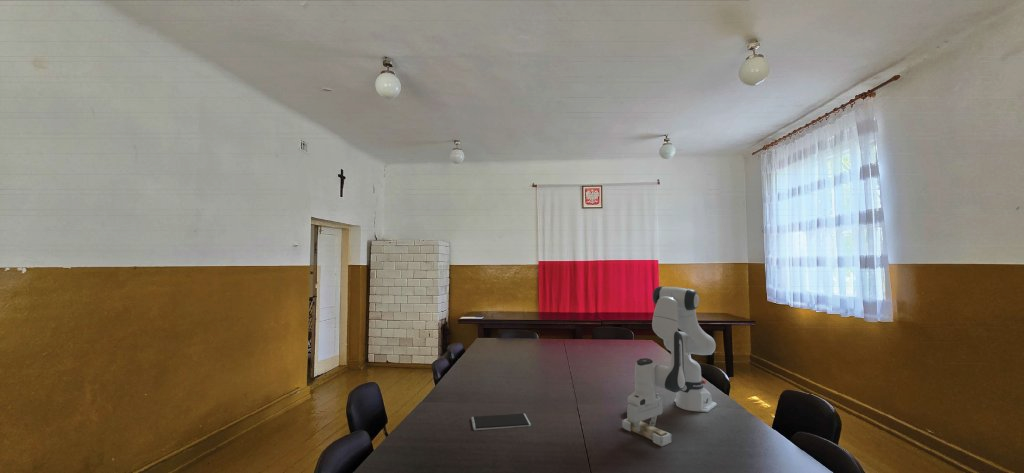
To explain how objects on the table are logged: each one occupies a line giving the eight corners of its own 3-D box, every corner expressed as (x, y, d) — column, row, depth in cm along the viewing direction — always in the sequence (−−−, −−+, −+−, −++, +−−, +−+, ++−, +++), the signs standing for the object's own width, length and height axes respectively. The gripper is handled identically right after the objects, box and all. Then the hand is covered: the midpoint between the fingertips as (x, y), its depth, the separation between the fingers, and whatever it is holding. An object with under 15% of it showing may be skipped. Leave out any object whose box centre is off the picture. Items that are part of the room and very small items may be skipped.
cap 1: (639, 428, 177) (639, 420, 178) (629, 431, 174) (629, 423, 174) (631, 424, 181) (631, 417, 181) (622, 427, 178) (622, 420, 178)
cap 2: (652, 442, 164) (652, 433, 164) (662, 438, 167) (662, 430, 167) (661, 446, 160) (661, 437, 160) (671, 442, 163) (671, 434, 164)
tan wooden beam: (627, 429, 177) (627, 419, 177) (632, 427, 179) (632, 417, 179) (661, 444, 162) (661, 433, 162) (666, 442, 164) (666, 431, 164)
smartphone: (531, 427, 179) (531, 423, 179) (473, 431, 174) (473, 427, 174) (525, 416, 192) (525, 412, 192) (471, 419, 187) (471, 416, 187)
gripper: (654, 390, 180) (654, 420, 179) (624, 398, 169) (624, 430, 168) (665, 394, 174) (666, 425, 174) (636, 403, 163) (636, 436, 163)
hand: (645, 428), depth 171 cm, fingers open, 8 cm apart
